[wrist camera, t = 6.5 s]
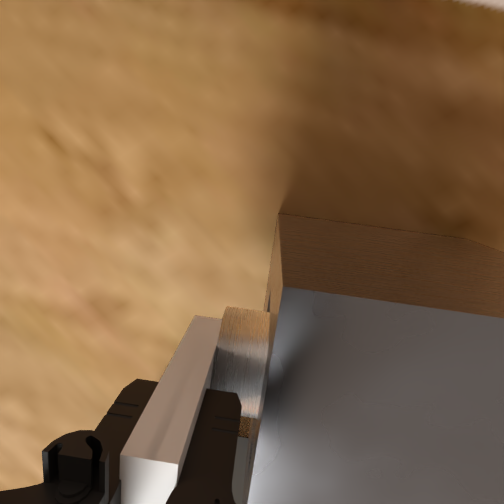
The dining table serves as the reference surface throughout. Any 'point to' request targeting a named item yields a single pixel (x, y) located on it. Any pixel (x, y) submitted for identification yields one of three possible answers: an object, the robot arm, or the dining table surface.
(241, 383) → the axle
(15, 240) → the dining table surface
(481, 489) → the slotted grey block
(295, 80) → the dining table surface
